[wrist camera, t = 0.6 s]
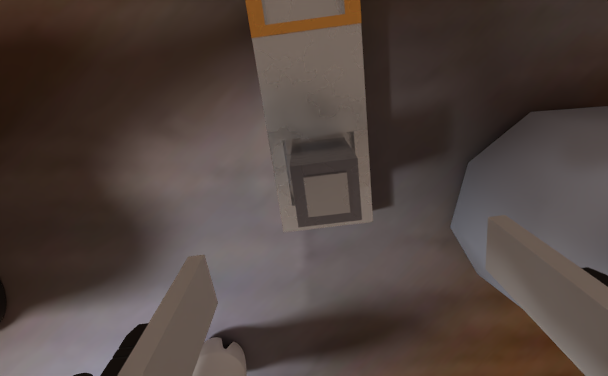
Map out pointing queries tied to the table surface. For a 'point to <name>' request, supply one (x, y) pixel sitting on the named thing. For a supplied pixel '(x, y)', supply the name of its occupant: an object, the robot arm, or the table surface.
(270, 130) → the rail
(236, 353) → the water bottle
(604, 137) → the bottle
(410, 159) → the table surface
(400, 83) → the table surface
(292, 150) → the grey tall square block
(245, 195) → the table surface
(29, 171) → the table surface
